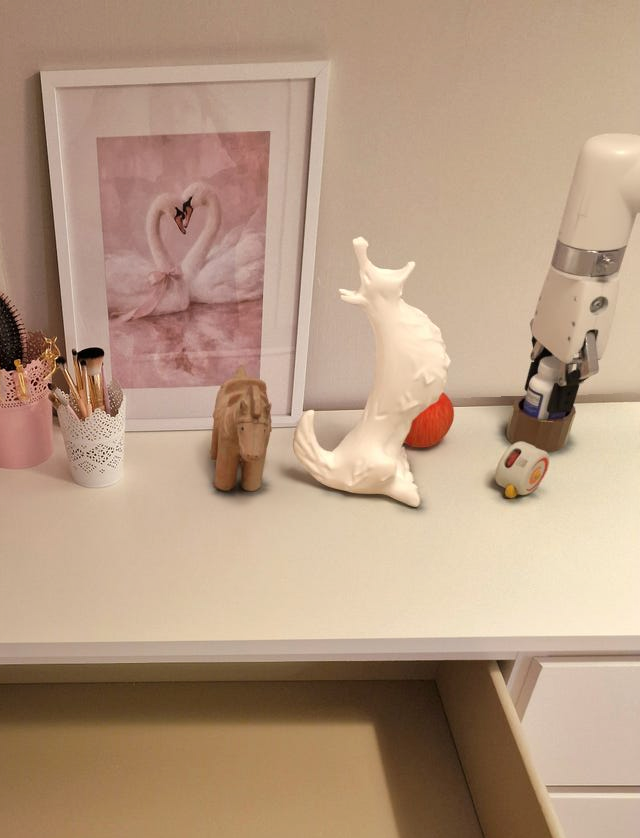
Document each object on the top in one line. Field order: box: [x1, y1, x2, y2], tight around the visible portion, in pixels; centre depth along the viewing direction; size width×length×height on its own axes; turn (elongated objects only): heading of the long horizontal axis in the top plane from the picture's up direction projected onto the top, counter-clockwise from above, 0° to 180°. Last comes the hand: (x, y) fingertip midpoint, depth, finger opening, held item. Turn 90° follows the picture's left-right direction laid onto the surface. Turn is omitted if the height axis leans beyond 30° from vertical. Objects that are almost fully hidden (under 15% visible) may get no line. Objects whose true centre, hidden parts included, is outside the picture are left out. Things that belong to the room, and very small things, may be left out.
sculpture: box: [292, 236, 452, 508], centre depth 100 cm, size 11×17×30 cm
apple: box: [403, 391, 455, 448], centre depth 115 cm, size 8×8×8 cm
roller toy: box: [494, 441, 550, 499], centre depth 106 cm, size 4×6×6 cm
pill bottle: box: [522, 356, 574, 420], centre depth 113 cm, size 5×5×9 cm
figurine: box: [209, 364, 273, 492], centre depth 107 cm, size 7×18×15 cm, turn 3°
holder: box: [505, 394, 577, 453], centre depth 115 cm, size 8×8×4 cm
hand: (547, 399), depth 113 cm, fingers closed on pill bottle, 5 cm apart
